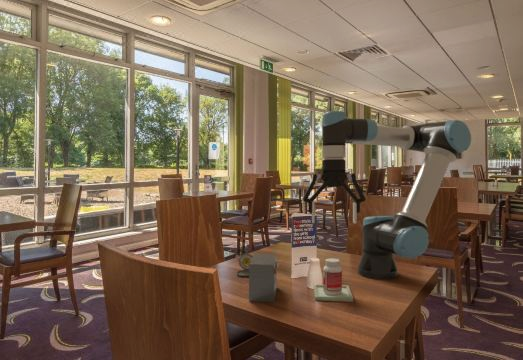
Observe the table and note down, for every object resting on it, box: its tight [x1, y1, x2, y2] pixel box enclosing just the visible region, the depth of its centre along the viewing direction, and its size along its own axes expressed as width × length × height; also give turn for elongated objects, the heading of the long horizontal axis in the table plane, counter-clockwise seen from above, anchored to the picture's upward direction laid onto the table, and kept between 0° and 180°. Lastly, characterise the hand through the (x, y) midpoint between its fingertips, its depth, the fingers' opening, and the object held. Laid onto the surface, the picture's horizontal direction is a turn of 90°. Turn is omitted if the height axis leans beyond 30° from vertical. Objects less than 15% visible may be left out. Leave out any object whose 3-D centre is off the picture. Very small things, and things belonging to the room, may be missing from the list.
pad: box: [313, 284, 354, 302], centre depth 124 cm, size 12×12×1 cm
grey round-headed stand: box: [236, 247, 253, 277], centre depth 147 cm, size 8×8×10 cm
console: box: [248, 253, 279, 303], centre depth 124 cm, size 9×14×12 cm, turn 174°
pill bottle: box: [322, 257, 343, 295], centre depth 124 cm, size 6×6×11 cm
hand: (333, 222), depth 123 cm, fingers open, 13 cm apart
